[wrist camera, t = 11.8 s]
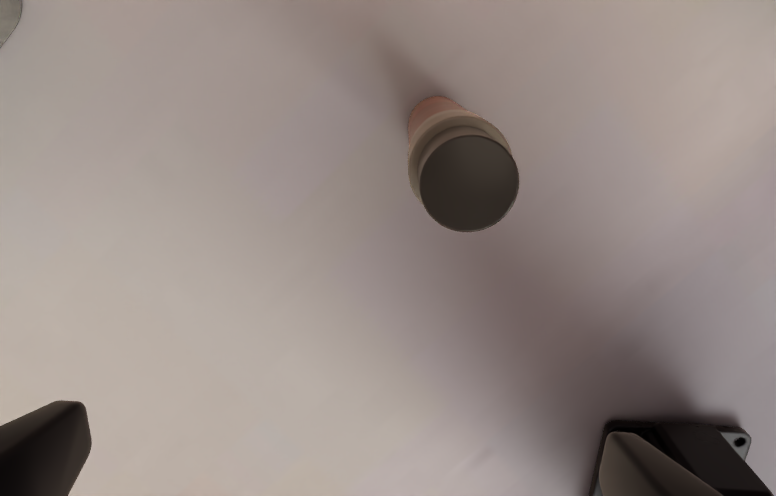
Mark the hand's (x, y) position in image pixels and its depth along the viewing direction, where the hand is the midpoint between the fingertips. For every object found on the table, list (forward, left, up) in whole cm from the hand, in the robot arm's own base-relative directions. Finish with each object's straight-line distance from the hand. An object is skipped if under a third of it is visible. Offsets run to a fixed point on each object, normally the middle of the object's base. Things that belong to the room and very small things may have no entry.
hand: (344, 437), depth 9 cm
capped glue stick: (+4, -2, -13) cm, 14 cm away
